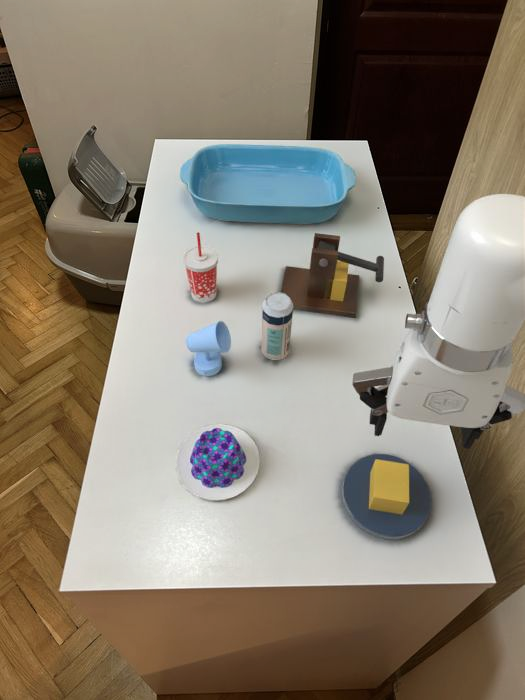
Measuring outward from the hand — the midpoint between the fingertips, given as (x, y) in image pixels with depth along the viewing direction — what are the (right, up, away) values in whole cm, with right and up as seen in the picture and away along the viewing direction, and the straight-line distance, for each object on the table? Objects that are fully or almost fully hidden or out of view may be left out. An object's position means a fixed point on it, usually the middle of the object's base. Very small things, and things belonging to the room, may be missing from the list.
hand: (420, 431), depth 60 cm
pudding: (-24, -7, +17) cm, 31 cm away
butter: (-5, +20, +38) cm, 43 cm away
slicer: (-7, +20, +39) cm, 44 cm away
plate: (-1, -11, +14) cm, 18 cm away
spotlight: (-26, +6, +28) cm, 39 cm away
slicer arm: (-3, +24, +32) cm, 40 cm away
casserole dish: (-17, +42, +57) cm, 72 cm away
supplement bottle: (-16, +9, +30) cm, 35 cm away
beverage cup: (-29, +19, +38) cm, 52 cm away
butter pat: (-1, -11, +13) cm, 17 cm away
